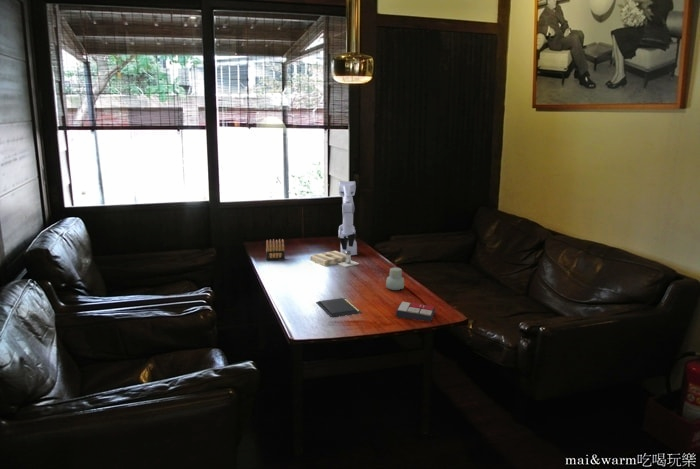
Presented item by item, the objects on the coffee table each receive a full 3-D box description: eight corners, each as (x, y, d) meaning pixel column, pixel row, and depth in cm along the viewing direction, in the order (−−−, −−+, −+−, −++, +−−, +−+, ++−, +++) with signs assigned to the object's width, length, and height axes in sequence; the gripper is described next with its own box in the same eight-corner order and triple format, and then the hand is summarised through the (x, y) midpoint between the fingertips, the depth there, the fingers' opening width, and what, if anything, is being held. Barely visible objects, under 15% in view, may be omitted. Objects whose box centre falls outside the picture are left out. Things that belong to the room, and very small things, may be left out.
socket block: (335, 255, 320) (335, 250, 319) (349, 260, 309) (349, 255, 309) (310, 260, 309) (310, 255, 308) (324, 266, 298) (324, 260, 298)
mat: (351, 261, 308) (351, 260, 308) (359, 264, 303) (359, 263, 303) (337, 264, 302) (337, 263, 302) (345, 267, 297) (345, 266, 297)
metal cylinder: (346, 262, 304) (346, 250, 303) (351, 262, 303) (351, 250, 302) (344, 263, 301) (344, 251, 300) (349, 264, 301) (349, 252, 299)
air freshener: (402, 292, 257) (403, 272, 255) (385, 291, 259) (386, 271, 256) (404, 285, 268) (405, 266, 265) (388, 284, 269) (388, 265, 267)
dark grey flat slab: (315, 299, 243) (346, 295, 249) (315, 303, 244) (346, 299, 249) (329, 315, 225) (363, 310, 230) (329, 319, 225) (362, 314, 231)
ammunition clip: (284, 258, 312) (284, 238, 310) (284, 259, 311) (284, 239, 308) (265, 259, 310) (265, 239, 307) (266, 260, 309) (265, 239, 306)
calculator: (431, 314, 222) (396, 308, 226) (430, 324, 223) (395, 318, 227) (435, 305, 232) (401, 300, 236) (434, 315, 233) (400, 309, 237)
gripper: (347, 221, 306) (347, 244, 309) (335, 226, 294) (335, 249, 297) (358, 222, 303) (358, 245, 306) (346, 227, 290) (346, 251, 294)
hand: (347, 247), depth 301 cm, fingers open, 7 cm apart
